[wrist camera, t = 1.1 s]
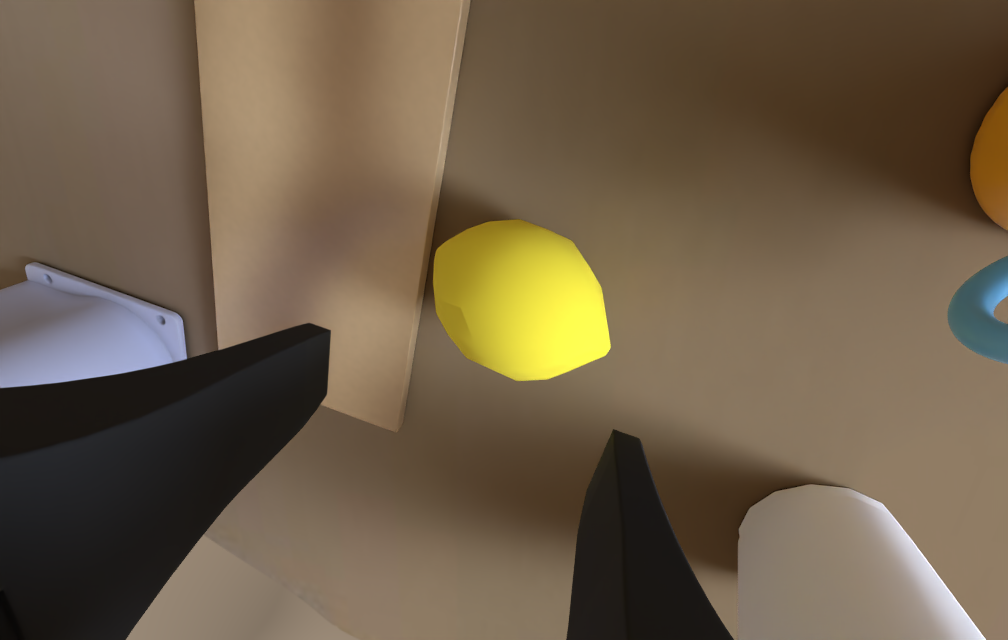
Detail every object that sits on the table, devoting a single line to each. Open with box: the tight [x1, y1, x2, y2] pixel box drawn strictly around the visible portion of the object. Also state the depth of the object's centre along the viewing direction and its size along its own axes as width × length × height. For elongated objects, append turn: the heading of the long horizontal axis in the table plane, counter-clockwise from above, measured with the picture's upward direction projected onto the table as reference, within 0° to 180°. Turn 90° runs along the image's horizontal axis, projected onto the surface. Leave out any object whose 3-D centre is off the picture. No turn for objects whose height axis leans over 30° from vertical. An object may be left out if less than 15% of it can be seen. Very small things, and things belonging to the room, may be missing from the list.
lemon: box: [433, 219, 611, 381], centre depth 18 cm, size 7×5×5 cm
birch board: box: [194, 0, 471, 433], centre depth 21 cm, size 10×20×1 cm, turn 168°
